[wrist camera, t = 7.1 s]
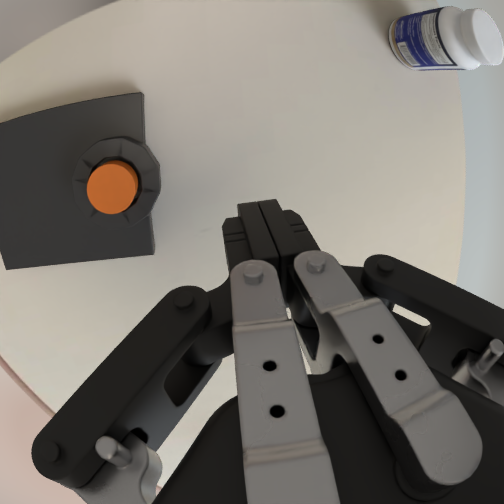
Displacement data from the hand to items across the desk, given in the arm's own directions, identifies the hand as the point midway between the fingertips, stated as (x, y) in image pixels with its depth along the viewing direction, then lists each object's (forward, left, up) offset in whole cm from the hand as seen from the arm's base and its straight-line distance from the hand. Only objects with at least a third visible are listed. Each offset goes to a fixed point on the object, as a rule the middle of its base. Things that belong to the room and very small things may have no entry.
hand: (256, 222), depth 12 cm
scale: (0, -12, -11) cm, 17 cm away
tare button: (0, -7, -9) cm, 11 cm away
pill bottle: (-13, +18, -12) cm, 25 cm away
